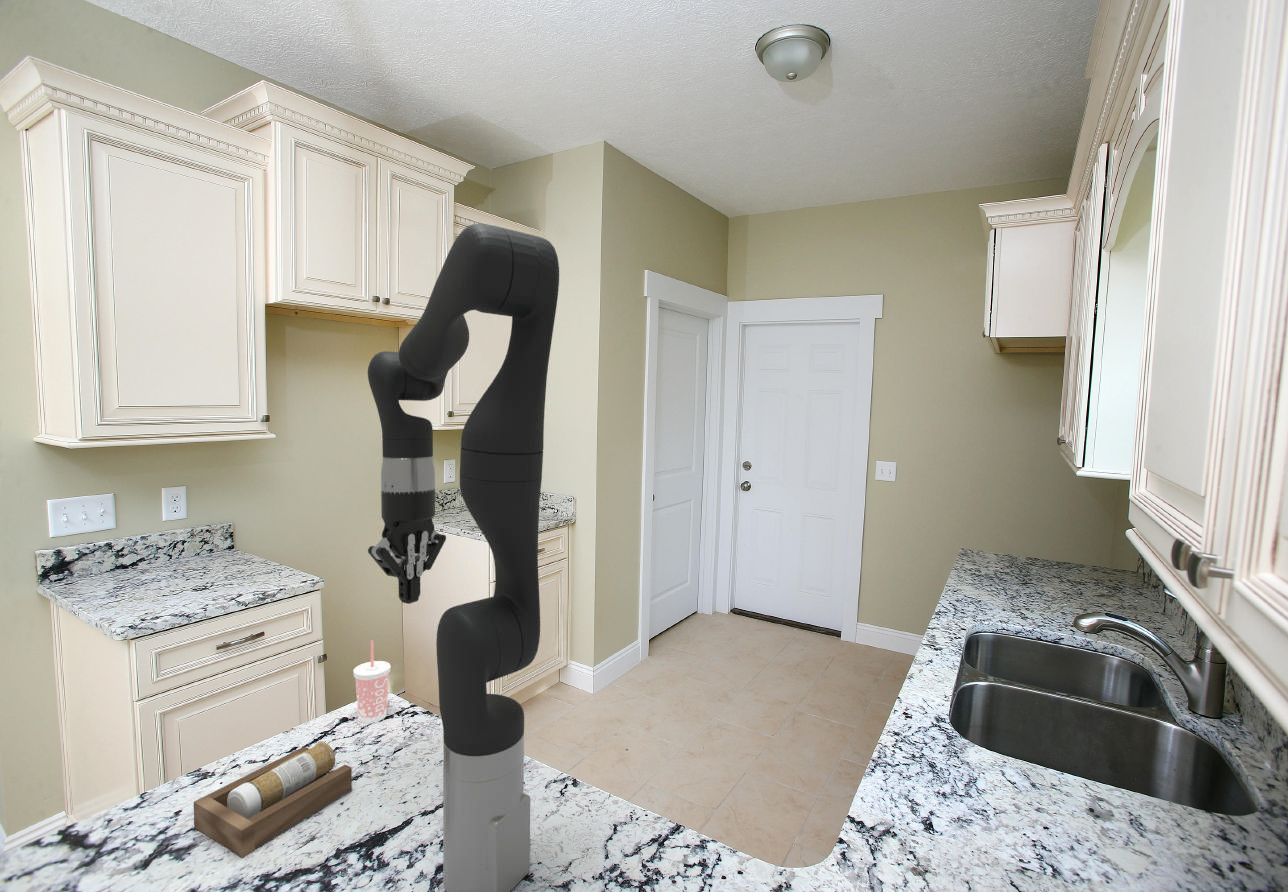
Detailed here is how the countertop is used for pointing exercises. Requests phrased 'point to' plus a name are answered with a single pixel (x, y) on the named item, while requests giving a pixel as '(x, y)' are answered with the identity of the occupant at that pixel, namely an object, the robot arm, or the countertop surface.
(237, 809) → the sprinkles bottle
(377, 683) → the beverage cup
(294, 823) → the u rest
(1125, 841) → the countertop surface
